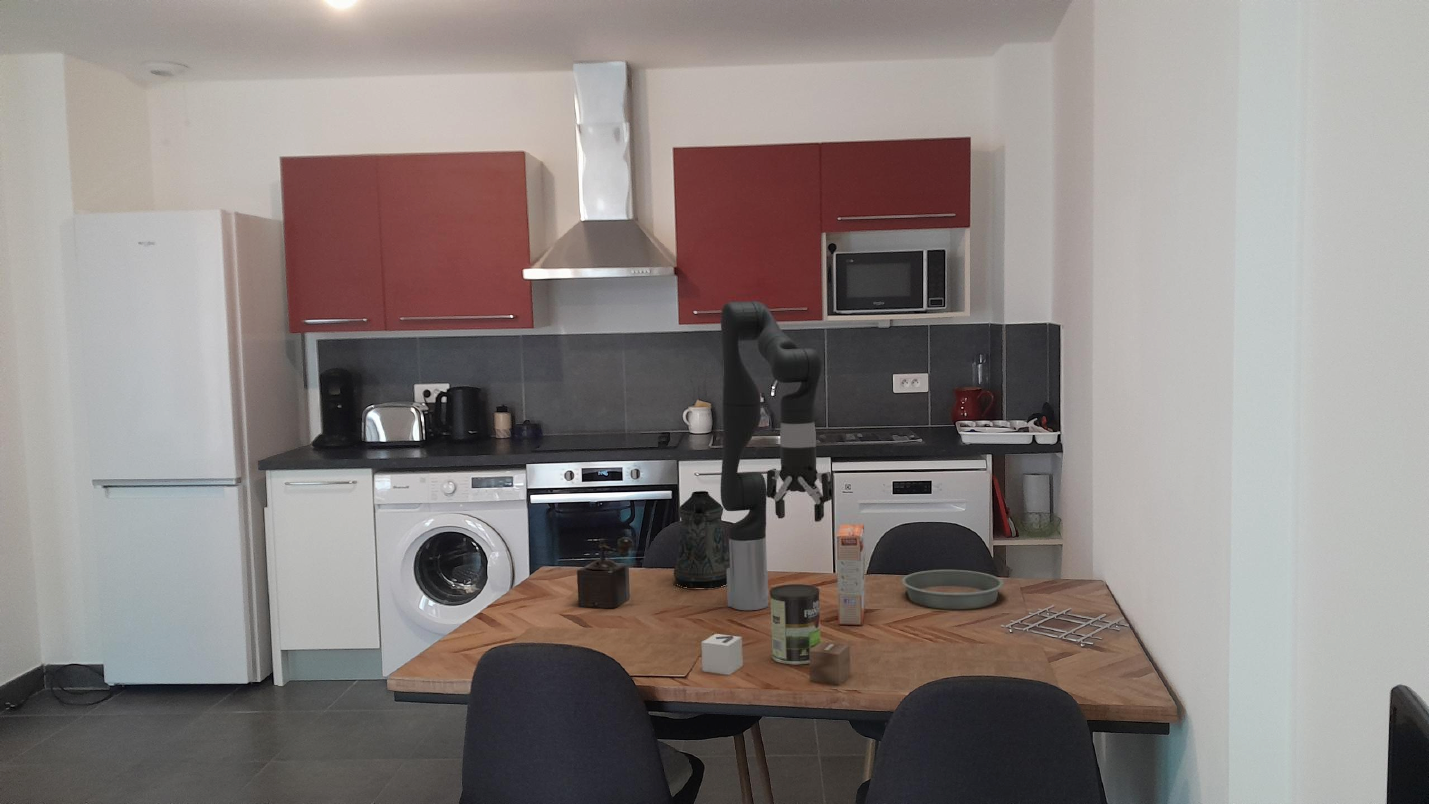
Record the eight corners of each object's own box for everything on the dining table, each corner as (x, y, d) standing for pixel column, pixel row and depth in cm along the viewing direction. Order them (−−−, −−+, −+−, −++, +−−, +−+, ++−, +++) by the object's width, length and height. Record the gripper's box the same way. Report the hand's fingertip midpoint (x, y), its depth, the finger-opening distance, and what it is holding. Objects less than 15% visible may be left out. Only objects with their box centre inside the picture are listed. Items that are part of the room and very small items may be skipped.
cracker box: (864, 626, 222) (861, 535, 220) (837, 625, 223) (834, 535, 222) (867, 609, 235) (864, 523, 234) (842, 608, 237) (839, 523, 235)
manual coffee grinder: (575, 607, 246) (572, 537, 245) (594, 596, 257) (591, 528, 256) (632, 610, 241) (629, 539, 240) (649, 599, 252) (646, 530, 251)
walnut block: (810, 681, 188) (809, 649, 188) (821, 671, 193) (820, 640, 193) (839, 685, 185) (838, 653, 185) (850, 675, 191) (849, 644, 190)
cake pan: (1024, 598, 240) (1024, 580, 240) (956, 618, 226) (956, 599, 226) (948, 580, 260) (948, 564, 260) (881, 597, 246) (881, 579, 246)
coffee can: (829, 652, 204) (827, 586, 203) (807, 667, 195) (805, 598, 194) (786, 646, 209) (784, 581, 209) (762, 660, 201) (760, 593, 200)
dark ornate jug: (719, 572, 278) (716, 485, 276) (749, 586, 260) (745, 494, 259) (665, 579, 271) (661, 490, 270) (691, 595, 254) (688, 500, 252)
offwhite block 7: (702, 671, 196) (701, 641, 195) (716, 662, 201) (715, 632, 201) (729, 675, 193) (728, 644, 193) (742, 665, 198) (741, 635, 198)
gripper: (759, 444, 206) (761, 520, 207) (822, 447, 199) (824, 525, 200) (775, 440, 212) (776, 513, 214) (836, 442, 205) (837, 518, 207)
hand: (799, 519), depth 207 cm, fingers open, 8 cm apart
